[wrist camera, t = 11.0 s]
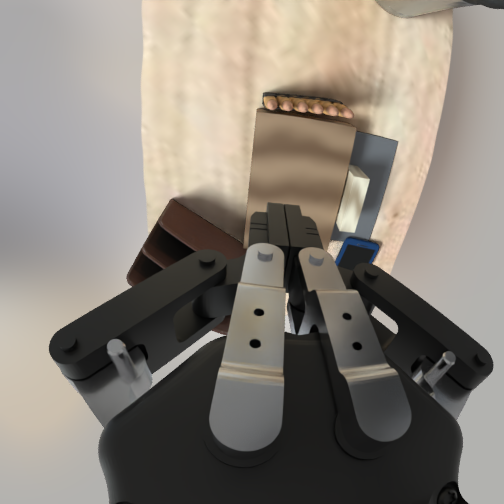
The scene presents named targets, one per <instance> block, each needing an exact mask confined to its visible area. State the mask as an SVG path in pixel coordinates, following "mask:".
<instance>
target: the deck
mask: <svg viewBox="0 0 504 504" xmlns="http://www.w3.org/2000/svg"><path fill="white" fill-rule="evenodd" d="M356 129H357V128H356V127H354V126H353V125H351V124H349V123H345V122H341V121H336V120H331V119H325V118H320V117H314V116H308V115H302V114H295V113H288V112H280V111H272V110H263V109H257V113H256V123H255V132H254V142H253V152H252V162H251V172H250V182H249V192H248V202H247V212H246V223H245V233H244V244H243V248H244V249H248V240H249V229H250V218H251V215H252V214H253V213H254V212H255V211H257V212H266V208H267V202H271V203H281V204H283V205H284V204H291V205H299V206H300V209H301V213H302V216H309V217H310V218H311V219H312V220H313V221H314V222H315V223H316V226H317V230H318V232H319V235H320V238H321V242H322V245H323V248H324V250H325V251H327V249H328V246H329V242H330V239H331V235H332V231H333V228H334V224H335V220H336V216H337V212H338V209H339V205H340V201H341V197H342V193H343V188H344V184H345V180H346V176H347V171H348V167H349V163H350V158H351V153H352V149H353V144H354V139H355V134H356Z"/></svg>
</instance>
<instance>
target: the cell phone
mask: <svg viewBox="0 0 504 504" xmlns="http://www.w3.org/2000/svg"><path fill="white" fill-rule="evenodd" d="M378 250H379V245H378V244H376V243H373V242H369V241H365V240H361V239H356V238H352V237H348V238H346V239H345V241H344V243H343V245H342V247H341V249H340V252H339V254H338V256H337V258H336V260H335V263H336V265H337V266H339V267H342V268H345V269H348V270H352V271H354V268H355V266H356V265H357V264H360V263H370V264H371V263H372V262H373V260H374V258H375V256H376V254H377V252H378Z"/></svg>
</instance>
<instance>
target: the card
mask: <svg viewBox="0 0 504 504" xmlns="http://www.w3.org/2000/svg"><path fill="white" fill-rule="evenodd" d="M369 181H370V179H369V178H368V177H367V176H366V175H365V174H364V173H363V171H362V170H361V169H360V168H359V167H358V166H354V165H349V167H348V171H347V176H346V180H345V184H344V188H343V193H342V197H341V201H340V205H339V209H338V212H337V216H336V220H335V222H336V224H337V226H338V228H339V231H344V232H352V233H355V230H356V226H357V223H358V220H359V216H360V213H361V210H362V206H363V203H364V199H365V196H366V192H367V188H368V185H369Z"/></svg>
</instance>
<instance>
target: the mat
mask: <svg viewBox="0 0 504 504" xmlns="http://www.w3.org/2000/svg"><path fill="white" fill-rule="evenodd" d="M397 143H398V142H397V141H394V140H390V139H387V138H383V137H379V136H375V135H371V134H367V133H362V132H358V131H356V134H355V139H354V144H353V149H352V153H351V158H350V163H349V165H354V166H358V167H359V168H360V169H361V170H362V171H363V173H364V174H365V175H366V176H367V177H368V178H369V179H370V181H369V185H368V188H367V192H366V196H365V199H364V203H363V206H362V210H361V213H360V216H359V220H358V223H357V226H356V230H355V233H352V232H344V231H339V228H338V226H337V224H336V222H335V224H334V228H333V231H332V235H331V239H330V240H336V241H345V239H346V238H348V237H352V238H356V239H361V240H365V241H369V239H370V236H371V233H372V230H373V227H374V224H375V221H376V218H377V215H378V212H379V208H380V205H381V202H382V199H383V195H384V192H385V189H386V185H387V182H388V178H389V174H390V171H391V167H392V163H393V159H394V155H395V151H396V147H397Z"/></svg>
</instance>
